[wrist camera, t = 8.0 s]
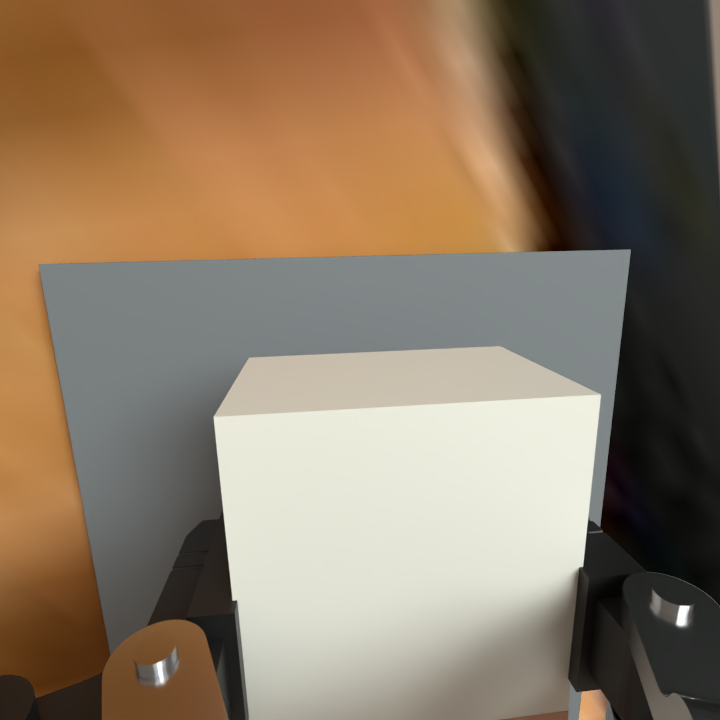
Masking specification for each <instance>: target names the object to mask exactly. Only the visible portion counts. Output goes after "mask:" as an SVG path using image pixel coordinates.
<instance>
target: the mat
mask: <svg viewBox="0 0 720 720" xmlns="http://www.w3.org/2000/svg"><path fill="white" fill-rule="evenodd" d="M630 252H631V250H593V251H553V252H512V253H472V254H432V255H392V256H351V257H311V258H271V259H231V260H191V261H150V262H110V263H70V264H38V265H39V270H40V275H41V281H42V286H43V292H44V297H45V303H46V308H47V314H48V319H49V324H50V330H51V335H52V341H53V346H54V352H55V357H56V363H57V368H58V373H59V379H60V384H61V390H62V395H63V401H64V406H65V411H66V417H67V422H68V428H69V433H70V439H71V444H72V450H73V455H74V460H75V466H76V471H77V477H78V482H79V488H80V493H81V499H82V504H83V509H84V515H85V520H86V526H87V531H88V537H89V542H90V547H91V553H92V558H93V564H94V569H95V575H96V580H97V586H98V591H99V596H100V602H101V607H102V613H103V618H104V624H105V629H106V635H107V640H108V645H109V651H110V656H111V655H112V653H113V652H114V651H115V650H116V648H117V647H118V646H119V645H120V644H121V643H122V642H124V641H125V640H126V639H127V638H128V637H130V636H131V635H133V634H134V633H136V632H137V631H139V630H141V629H143V628H145V627H147V625H148V622H149V620H150V618H151V615H152V613H153V611H154V609H155V606H156V604H157V602H158V599H159V597H160V595H161V593H162V590H163V588H164V586H165V583H166V581H167V579H168V576H169V574H170V572H171V571H172V567H173V565H174V563H175V560H176V558H177V556H179V551H180V549H181V547H182V544H183V542H184V540H185V538H186V536H187V535H188V534H189V533H190V532H191V531H192V530H193V529H194V528H195V527H196V526H197V525H198V524H199V523H200V522H201V521H202V520H214V519H219V518H220V515H221V512H222V509H223V504H222V494H221V484H220V475H219V465H218V456H217V446H216V436H215V427H214V415H215V414H216V412H217V410H218V409H219V407H220V405H221V404H222V402H223V400H224V399H225V397H226V395H227V394H228V392H229V390H230V389H231V387H232V385H233V384H234V382H235V380H236V379H237V377H238V375H239V374H240V372H241V370H242V369H243V367H244V365H245V364H246V362H247V360H248V359H249V358H250V357H272V356H294V355H316V354H338V353H360V352H382V351H404V350H426V349H448V348H469V347H491V346H501V347H503V348H505V349H507V350H509V351H511V352H513V353H515V354H518V355H520V356H522V357H524V358H526V359H528V360H530V361H532V362H534V363H536V364H538V365H541V366H543V367H545V368H547V369H549V370H551V371H553V372H555V373H557V374H559V375H561V376H563V377H566V378H568V379H570V380H572V381H574V382H576V383H578V384H580V385H582V386H584V387H586V388H589V389H591V390H593V391H595V392H597V393H599V394H601V400H600V410H599V419H598V429H597V439H596V448H595V458H594V467H593V477H592V486H591V496H590V506H589V515H588V517H589V518H590V521H593V522H595V523H596V524H597V525H598V526H599V527H600V522H601V513H602V504H603V495H604V486H605V477H606V468H607V459H608V450H609V441H610V432H611V423H612V414H613V405H614V396H615V387H616V378H617V369H618V360H619V351H620V342H621V333H622V324H623V315H624V306H625V297H626V288H627V279H628V270H629V261H630ZM580 701H581V692H576V691H575V689H574V688H573V686H572V684H571V687H570V697H569V706H568V711H569V715H568V720H578V719H579V710H580Z"/></svg>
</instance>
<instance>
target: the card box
mask: <svg viewBox="0 0 720 720" xmlns="http://www.w3.org/2000/svg"><path fill="white" fill-rule="evenodd" d="M600 400H601V394H599V393H597V392H595V391H593V390H591V389H589V388H586V387H584V386H582V385H580V384H578V383H576V382H574V381H572V380H570V379H568V378H566V377H563V376H561V375H559V374H557V373H555V372H553V371H551V370H549V369H547V368H545V367H543V366H541V365H538V364H536V363H534V362H532V361H530V360H528V359H526V358H524V357H522V356H520V355H518V354H515V353H513V352H511V351H509V350H507V349H505V348H503V347H501V346H491V347H469V348H448V349H426V350H404V351H382V352H360V353H338V354H316V355H294V356H272V357H250V358H249V359H248V360H247V362H246V364H245V365H244V367H243V369H242V370H241V372H240V374H239V375H238V377H237V379H236V380H235V382H234V384H233V385H232V387H231V389H230V390H229V392H228V394H227V395H226V397H225V399H224V400H223V402H222V404H221V405H220V407H219V409H218V410H217V412H216V414H215V415H214V427H215V436H216V446H217V456H218V465H219V475H220V484H221V494H222V504H223V513H224V523H225V533H226V542H227V552H228V561H229V571H230V581H231V590H232V600H233V601H235V600H237V602H238V612H239V622H240V632H241V642H242V652H243V662H244V672H245V683H246V693H247V703H248V713H249V720H568V715H569V711H568V706H569V697H570V687H571V683H570V681H569V679H568V673H569V663H570V654H571V644H572V635H573V625H574V615H575V606H576V596H577V587H578V577H579V567H583V563H584V553H585V544H586V534H587V525H588V515H589V506H590V496H591V486H592V477H593V467H594V458H595V448H596V439H597V429H598V419H599V410H600Z"/></svg>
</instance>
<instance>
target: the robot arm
mask: <svg viewBox="0 0 720 720" xmlns="http://www.w3.org/2000/svg"><path fill="white" fill-rule="evenodd" d="M568 679H569V681H570V683H571V684H572V686H573V688H574V689H575V691H576V692H582V691H590V690H598V689H601V690H602V692H603V693H604V695H605V696H606V698H607V699H608V701H607V709H606V720H720V607H719V605H718V604H717V603H716V602H715V601H714V600H713V599H712V598H711V597H710V596H708V595H707V594H706V593H704V592H703V591H701V590H700V589H698V588H697V587H695V586H693V585H691V584H689V583H687V582H685V581H683V580H680V579H678V578H675V577H672V576H668V575H665V574H660V573H652V572H647V571H646V570H644V569H643V568H642V567H641V566H640V565H639V564H638V563H637V562H636V561H635V560H634V559H633V558H632V557H631V556H630V555H629V554H627V553H626V552H625V551H624V550H623V549H622V548H621V547H620V546H619V545H618V544H617V543H616V542H615V541H614V540H613V539H612V538H610V537H609V536H608V535H607V534H606V533H603V531H602V529H601V528H600V527H599V526H598V525H597V524H596V523H595V522H593V521H590V518H589V517H588V525H587V534H586V544H585V553H584V563H583V567H579V577H578V587H577V596H576V606H575V615H574V625H573V635H572V644H571V654H570V663H569V673H568ZM0 720H249V713H248V703H247V693H246V683H245V672H244V662H243V652H242V642H241V632H240V622H239V612H238V602H237V600H235V601H233V600H232V590H231V581H230V571H229V561H228V552H227V542H226V533H225V523H224V513H223V509H222V512H221V515H220V518H219V519H214V520H202V521H201V522H200V523H199V524H198V525H197V526H196V527H195V528H194V529H193V530H192V531H191V532H190V533H189V534H188V535H187V536H186V538H185V540H184V542H183V544H182V547H181V549H180V551H179V556H177V558H176V560H175V563H174V565H173V567H172V571H171V572H170V574H169V576H168V579H167V581H166V583H165V586H164V588H163V590H162V593H161V595H160V597H159V599H158V602H157V604H156V606H155V609H154V611H153V613H152V615H151V618H150V620H149V622H148V625H147V627H145V628H143V629H141V630H139V631H137V632H136V633H134V634H133V635H131V636H130V637H128V638H127V639H126V640H125V641H124V642H122V643H121V644H120V645H119V646H118V647H117V648H116V650H115V651H114V652H113V653H112V655H111V656H110V657H109V659H108V661H107V663H106V665H105V667H104V670H103V672H102V673H100V674H98V675H96V676H94V677H92V678H90V679H87V680H85V681H83V682H80V683H77V684H74V685H72V686H69V687H66V688H63V689H61V690H58V691H55V692H53V693H50V694H47V695H44V696H42V697H39V698H35V694H34V690H33V687H32V685H31V683H30V682H29V681H28V680H27V679H25V678H23V677H20V676H14V675H3V676H0Z"/></svg>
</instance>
